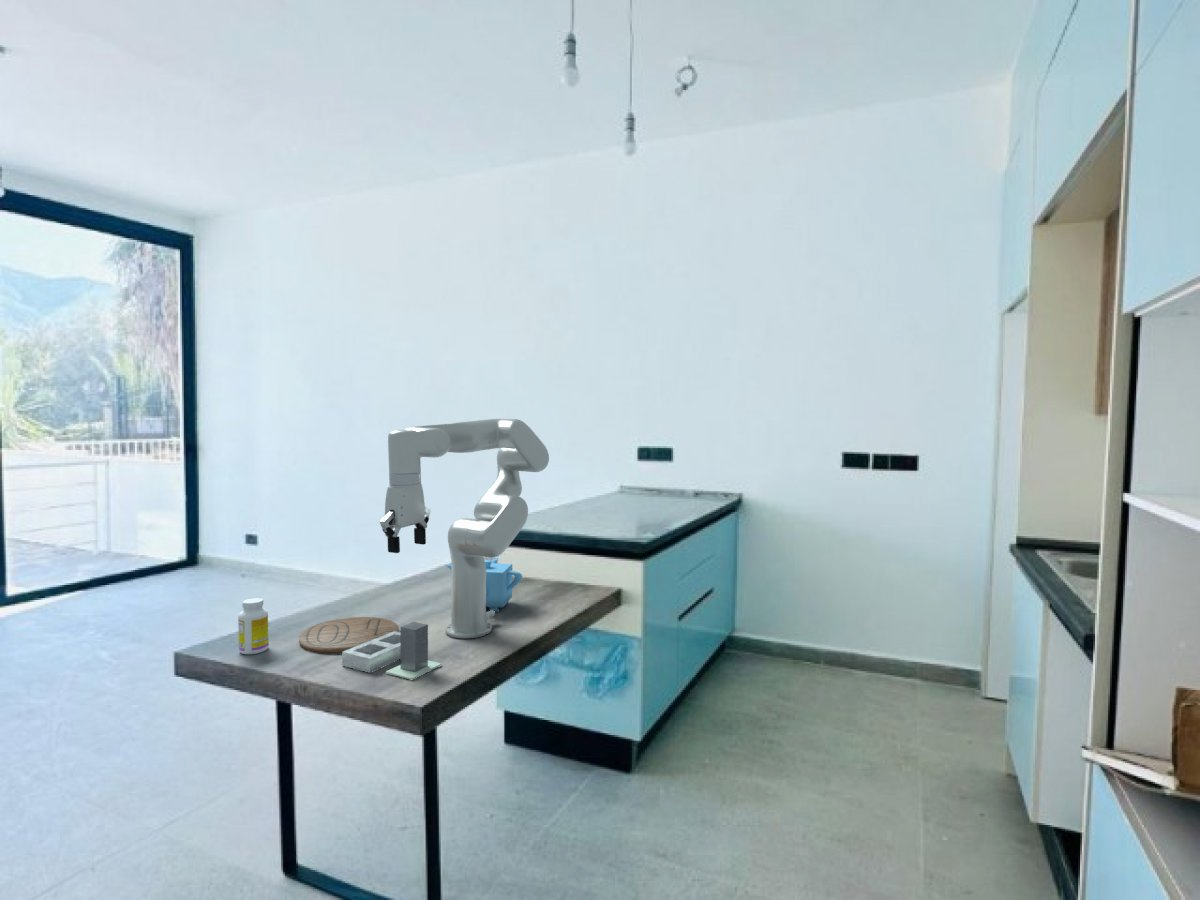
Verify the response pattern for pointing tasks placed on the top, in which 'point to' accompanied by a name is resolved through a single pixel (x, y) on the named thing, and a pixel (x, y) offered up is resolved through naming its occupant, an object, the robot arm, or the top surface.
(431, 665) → the sage pad
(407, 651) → the zinc peg
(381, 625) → the trivet
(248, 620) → the supplement bottle
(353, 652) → the grey cinder block
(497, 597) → the teakettle
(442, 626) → the top surface
